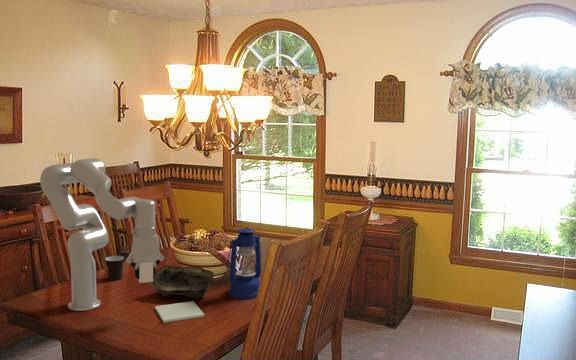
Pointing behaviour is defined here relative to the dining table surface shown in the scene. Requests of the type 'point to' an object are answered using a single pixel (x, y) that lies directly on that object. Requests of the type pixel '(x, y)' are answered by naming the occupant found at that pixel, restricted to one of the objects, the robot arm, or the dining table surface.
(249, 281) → the lantern
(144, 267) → the cream block
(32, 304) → the dining table surface
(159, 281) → the hollow geode rock
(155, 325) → the dining table surface
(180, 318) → the sage mat
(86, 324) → the dining table surface
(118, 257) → the coffee mug
